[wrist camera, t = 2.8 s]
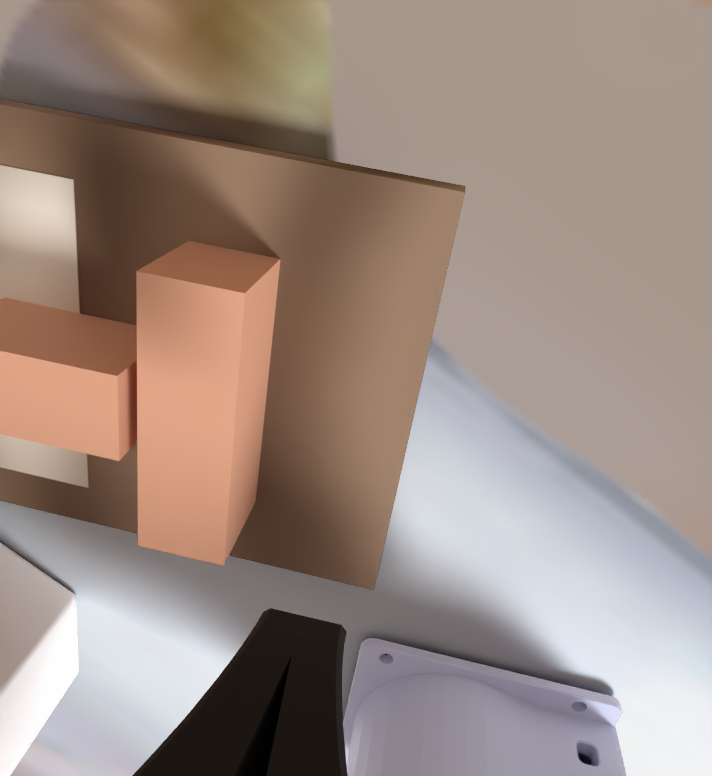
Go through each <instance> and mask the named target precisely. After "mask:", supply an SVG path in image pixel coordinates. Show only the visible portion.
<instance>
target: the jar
mask: <svg viewBox="0 0 712 776" xmlns="http://www.w3.org/2000/svg"><path fill="white" fill-rule="evenodd" d="M78 672H79V660H78V634H77V604H76V596H75V594H74V593H72V592H71V591H69V590H68V589H67V588H65V587H64V586H62V585H61V584H59V583H58V582H56V581H55V580H54V579H52V578H51V577H49V576H48V575H46V574H45V573H44V572H42V571H41V570H39V569H38V568H36V567H35V566H34V565H32V564H31V563H29V562H28V561H26V560H25V559H23V558H22V557H21V556H19V555H18V554H16V553H15V552H13V551H12V550H11V549H9V548H8V547H6V546H5V545H3V544H2V543H1V542H0V776H10V775H11V774H12V772H13V771H14V769H15V768H16V766H17V765H18V763H19V762H20V760H21V759H22V757H23V756H24V754H25V753H26V751H27V750H28V748H29V746H30V745H31V743H32V742H33V740H34V739H35V737H36V736H37V734H38V733H39V731H40V730H41V728H42V727H43V725H44V724H45V722H46V721H47V719H48V718H49V716H50V715H51V713H52V712H53V710H54V709H55V707H56V706H57V704H58V703H59V701H60V700H61V698H62V697H63V695H64V694H65V692H66V691H67V689H68V688H69V686H70V685H71V683H72V682H73V680H74V678H75V677H76V675H77V674H78Z"/></svg>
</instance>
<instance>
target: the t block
mask: <svg viewBox="0 0 712 776" xmlns="http://www.w3.org/2000/svg"><path fill="white" fill-rule="evenodd" d="M279 269H280V259H278V258H273V257H268V256H263V255H258V254H253V253H248V252H243V251H238V250H233V249H228V248H223V247H218V246H213V245H208V244H203V243H198V242H193V241H188V242H186V243H184V244H183V245H181V246H179V247H177V248H176V249H174V250H172V251H170V252H169V253H167V254H165V255H164V256H162V257H160V258H158V259H157V260H155V261H153V262H151V263H150V264H148V265H146V266H145V267H143V268H141V269H139V270H138V271H136V286H137V325H132V324H128V323H123V322H118V321H113V320H109V319H104V318H99V317H94V316H89V315H85V314H80V313H75V312H70V311H66V310H61V309H56V308H51V307H47V306H42V305H37V304H32V303H28V302H23V301H18V300H13V299H9V298H3V299H1V300H0V434H2V435H6V436H11V437H15V438H20V439H24V440H28V441H33V442H37V443H42V444H46V445H51V446H55V447H59V448H64V449H68V450H73V451H77V452H81V453H86V454H90V455H95V456H99V457H104V458H108V459H112V460H117V461H120V460H121V459H122V457H123V456H124V455H125V454H126V453H127V452H128V451H129V450H130V449H131V448H132V446H133V445H134V444H135V443H136V442H137V471H138V546H141V547H146V548H150V549H154V550H158V551H163V552H167V553H171V554H175V555H180V556H184V557H188V558H192V559H197V560H201V561H205V562H209V563H214V564H218V565H222V566H224V564H225V562H226V560H227V558H228V556H229V554H230V552H231V550H232V548H233V546H234V544H235V542H236V540H237V538H238V536H239V534H240V532H241V530H242V528H243V526H244V524H245V522H246V520H247V518H248V516H249V514H250V512H251V510H252V508H253V506H254V504H255V502H256V493H257V484H258V474H259V464H260V454H261V445H262V435H263V425H264V415H265V406H266V396H267V386H268V376H269V367H270V357H271V347H272V337H273V328H274V318H275V308H276V298H277V289H278V279H279Z"/></svg>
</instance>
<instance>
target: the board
mask: <svg viewBox="0 0 712 776" xmlns="http://www.w3.org/2000/svg"><path fill="white" fill-rule="evenodd" d="M464 194H465V186H461V185H456V184H451V183H446V182H440V181H435V180H430V179H424V178H419V177H414V176H408V175H403V174H398V173H393V172H387V171H382V170H377V169H371V168H366V167H361V166H355V165H350V164H345V163H340V162H334V161H329V160H324V159H318V158H313V157H308V156H302V155H297V154H292V153H286V152H281V151H276V150H271V149H265V148H260V147H255V146H249V145H244V144H239V143H233V142H228V141H223V140H218V139H212V138H207V137H202V136H196V135H191V134H186V133H180V132H175V131H170V130H164V129H159V128H154V127H149V126H143V125H138V124H133V123H127V122H122V121H117V120H111V119H106V118H101V117H96V116H90V115H85V114H80V113H74V112H69V111H64V110H58V109H53V108H48V107H42V106H37V105H32V104H27V103H21V102H16V101H11V100H5V99H0V300H1V299H3V298H9V299H13V300H18V301H23V302H28V303H32V304H37V305H42V306H47V307H51V308H56V309H61V310H66V311H70V312H75V313H80V314H85V315H89V316H94V317H99V318H104V319H109V320H113V321H118V322H123V323H128V324H132V325H137V286H136V271H138V270H139V269H141V268H143V267H145V266H146V265H148V264H150V263H151V262H153V261H155V260H157V259H158V258H160V257H162V256H164V255H165V254H167V253H169V252H170V251H172V250H174V249H176V248H177V247H179V246H181V245H183V244H184V243H186V242H188V241H193V242H198V243H203V244H208V245H213V246H218V247H223V248H228V249H233V250H238V251H243V252H248V253H253V254H258V255H263V256H268V257H273V258H278V259H280V269H279V279H278V289H277V298H276V308H275V318H274V328H273V337H272V347H271V357H270V367H269V376H268V386H267V396H266V406H265V415H264V425H263V435H262V445H261V454H260V464H259V474H258V484H257V493H256V502H255V504H254V506H253V508H252V510H251V512H250V514H249V516H248V518H247V520H246V522H245V524H244V526H243V528H242V530H241V532H240V534H239V536H238V538H237V540H236V542H235V544H234V546H233V548H232V550H231V552H230V554H229V555H230V556H234V557H238V558H242V559H246V560H250V561H255V562H259V563H263V564H267V565H271V566H276V567H280V568H284V569H288V570H292V571H296V572H301V573H305V574H309V575H313V576H317V577H321V578H326V579H330V580H334V581H338V582H342V583H347V584H351V585H355V586H359V587H363V588H367V589H372V590H374V587H375V583H376V579H377V574H378V570H379V566H380V561H381V557H382V552H383V548H384V544H385V539H386V535H387V531H388V526H389V522H390V518H391V513H392V509H393V504H394V500H395V496H396V491H397V487H398V483H399V478H400V474H401V470H402V465H403V461H404V456H405V452H406V448H407V443H408V439H409V435H410V430H411V426H412V422H413V417H414V413H415V408H416V404H417V400H418V395H419V391H420V387H421V382H422V378H423V374H424V369H425V365H426V361H427V356H428V352H429V347H430V343H431V339H432V334H433V330H434V326H435V321H436V317H437V312H438V308H439V304H440V299H441V295H442V291H443V286H444V282H445V277H446V273H447V269H448V265H449V260H450V256H451V251H452V247H453V243H454V238H455V234H456V229H457V225H458V221H459V216H460V212H461V207H462V203H463V199H464ZM0 501H4V502H8V503H12V504H17V505H21V506H25V507H29V508H33V509H37V510H42V511H46V512H50V513H54V514H58V515H63V516H67V517H71V518H75V519H79V520H83V521H88V522H92V523H96V524H100V525H104V526H108V527H113V528H117V529H121V530H125V531H129V532H134V533H138V471H137V442H136V443H135V444H134V445H133V446H132V448H131V449H130V450H129V451H128V452H127V453H126V454H125V455H124V456H123V457H122V459H121V460H120V461H117V460H112V459H108V458H104V457H99V456H95V455H90V454H86V453H81V452H77V451H73V450H68V449H64V448H59V447H55V446H51V445H46V444H42V443H37V442H33V441H28V440H24V439H20V438H15V437H11V436H6V435H2V434H0Z"/></svg>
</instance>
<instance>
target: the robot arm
mask: <svg viewBox="0 0 712 776" xmlns="http://www.w3.org/2000/svg"><path fill="white" fill-rule="evenodd" d="M345 637H346V630H345V629H344V628H343V627H342V625H339V624H335V623H330V622H326V621H322V620H318V619H313V618H309V617H305V616H301V615H296V614H292V613H288V612H284V611H279V610H275V609H268V610H266V611H264V612H263V614H262V615H261V617H260V619H259V620H258V622H257V624H256V625H255V627H254V628H253V630H252V632H251V633H250V635H249V636H248V638H247V639H246V640H245V642H244V643H243V645H242V646H241V648H240V649H239V650H238V652H237V653H236V655H235V656H234V657H233V659H232V660H231V661H230V663H229V664H228V665H227V667H226V668H225V669H224V671H223V672H222V673H221V675H220V676H219V677H218V678H217V680H216V681H215V682H214V683H213V685H212V686H211V687H210V688H209V689H208V691H207V692H206V693H205V694H204V696H203V697H202V698H201V699H200V701H199V702H198V703H197V704H196V705H195V707H194V708H193V709H192V710H191V712H190V713H189V714H188V715H187V716H186V717H185V719H184V720H183V721H182V722H181V723H180V724H179V725H178V727H177V728H176V729H175V730H174V731H173V732H172V733H171V734H170V735H169V737H168V738H167V739H166V740H165V741H164V742H163V743H162V744H161V745H160V746H159V748H158V749H157V750H156V751H155V752H154V753H153V754H152V755H151V756H150V757H149V759H148V760H147V761H146V762H145V763H144V764H143V765H142V766H141V767H140V768H139V769H138V770H137V771H136V772H135V774H134V775H133V776H626V772H625V767H624V763H623V758H622V754H621V750H620V745H619V741H618V736H617V732H616V728H615V727H616V725H617V723H618V721H619V720H620V718H621V716H622V709H621V705H620V702H619V701H618V700H617V699H616V698H614V697H612V696H609V695H605V694H601V693H597V692H593V691H589V690H585V689H581V688H577V687H573V686H568V685H564V684H560V683H556V682H552V681H548V680H544V679H540V678H536V677H532V676H528V675H524V674H520V673H515V672H511V671H507V670H503V669H499V668H495V667H491V666H487V665H483V664H479V663H475V662H471V661H466V660H462V659H458V658H454V657H450V656H446V655H442V654H438V653H434V652H430V651H426V650H422V649H418V648H413V647H409V646H405V645H401V644H397V643H393V642H389V641H385V640H381V639H377V638H368V639H365V640H364V641H362V643H361V646H360V650H359V655H358V659H357V663H356V668H355V672H354V676H353V681H352V685H351V690H350V694H349V698H348V703H347V707H346V711H345V716H344V720H343V712H342V662H343V651H344V642H345ZM385 654H389V655H385Z"/></svg>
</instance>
